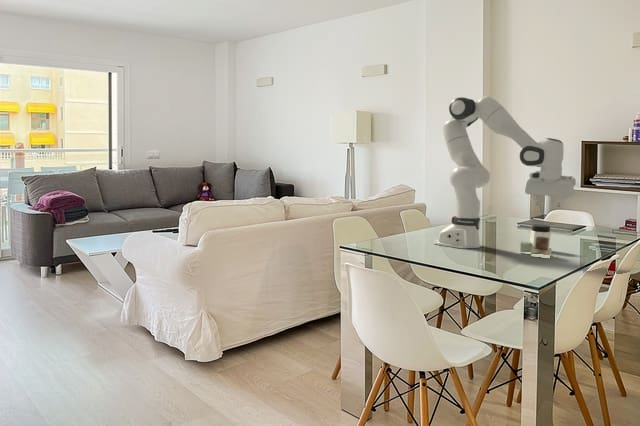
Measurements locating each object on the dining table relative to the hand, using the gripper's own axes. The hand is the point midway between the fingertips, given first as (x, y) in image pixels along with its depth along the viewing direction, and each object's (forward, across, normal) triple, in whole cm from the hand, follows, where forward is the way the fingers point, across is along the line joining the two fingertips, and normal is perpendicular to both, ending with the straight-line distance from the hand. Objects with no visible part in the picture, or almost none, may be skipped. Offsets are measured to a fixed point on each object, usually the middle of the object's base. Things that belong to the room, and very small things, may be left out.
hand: (547, 205), depth 248 cm
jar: (+23, +3, -14) cm, 28 cm away
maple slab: (+24, +1, +2) cm, 24 cm away
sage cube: (+23, +8, -2) cm, 25 cm away
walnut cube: (+20, +1, +2) cm, 20 cm away
